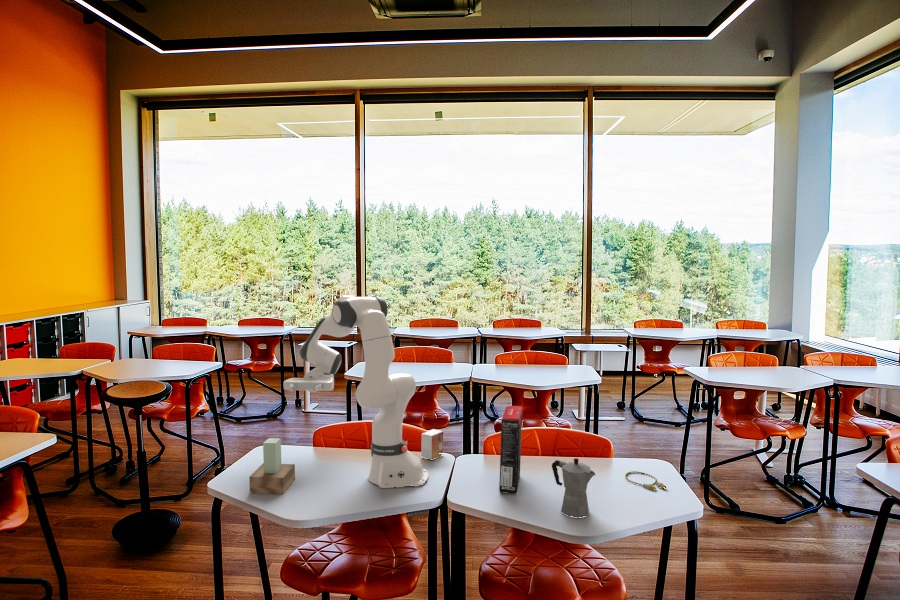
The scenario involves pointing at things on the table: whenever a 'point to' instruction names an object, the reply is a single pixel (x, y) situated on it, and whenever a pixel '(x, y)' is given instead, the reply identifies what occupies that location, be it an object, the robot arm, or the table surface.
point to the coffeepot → (574, 486)
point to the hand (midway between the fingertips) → (303, 389)
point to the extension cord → (647, 484)
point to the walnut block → (272, 480)
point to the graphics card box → (510, 449)
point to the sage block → (272, 455)
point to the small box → (432, 444)
